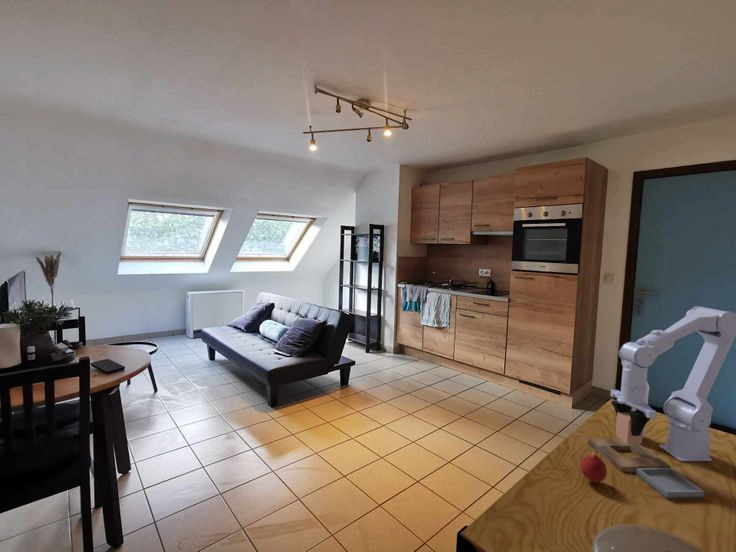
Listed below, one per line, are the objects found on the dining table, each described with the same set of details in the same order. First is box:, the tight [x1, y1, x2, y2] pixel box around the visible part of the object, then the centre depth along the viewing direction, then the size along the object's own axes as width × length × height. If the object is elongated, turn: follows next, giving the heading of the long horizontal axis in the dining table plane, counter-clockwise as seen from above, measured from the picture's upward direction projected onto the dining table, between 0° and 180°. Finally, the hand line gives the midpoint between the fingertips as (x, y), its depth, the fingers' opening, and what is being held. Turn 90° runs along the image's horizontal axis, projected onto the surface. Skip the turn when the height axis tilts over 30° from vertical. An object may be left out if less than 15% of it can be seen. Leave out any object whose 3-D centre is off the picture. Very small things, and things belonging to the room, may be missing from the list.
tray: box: [635, 467, 706, 500], centre depth 96 cm, size 10×10×2 cm
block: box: [615, 412, 644, 444], centre depth 108 cm, size 4×4×7 cm
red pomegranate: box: [580, 452, 608, 484], centre depth 96 cm, size 6×6×8 cm
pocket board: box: [587, 438, 672, 473], centre depth 108 cm, size 14×14×2 cm
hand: (629, 430), depth 108 cm, fingers closed on block, 4 cm apart
